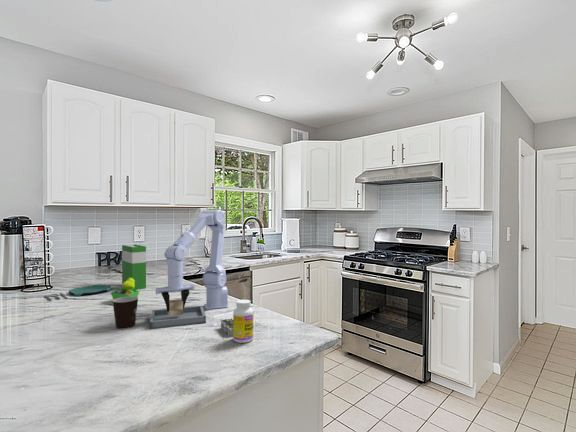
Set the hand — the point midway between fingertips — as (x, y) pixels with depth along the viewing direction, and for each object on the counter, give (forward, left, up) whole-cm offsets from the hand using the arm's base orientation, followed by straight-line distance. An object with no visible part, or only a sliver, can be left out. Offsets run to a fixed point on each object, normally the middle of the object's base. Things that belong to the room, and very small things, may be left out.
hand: (175, 309), depth 130 cm
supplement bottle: (-21, +30, -4) cm, 37 cm away
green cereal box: (+22, -72, -4) cm, 75 cm away
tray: (-1, 0, -4) cm, 4 cm away
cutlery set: (+48, -65, -5) cm, 80 cm away
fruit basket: (+22, -37, -4) cm, 43 cm away
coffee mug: (+17, 0, -4) cm, 18 cm away
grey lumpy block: (-19, +20, -4) cm, 28 cm away
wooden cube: (0, 0, -2) cm, 2 cm away
